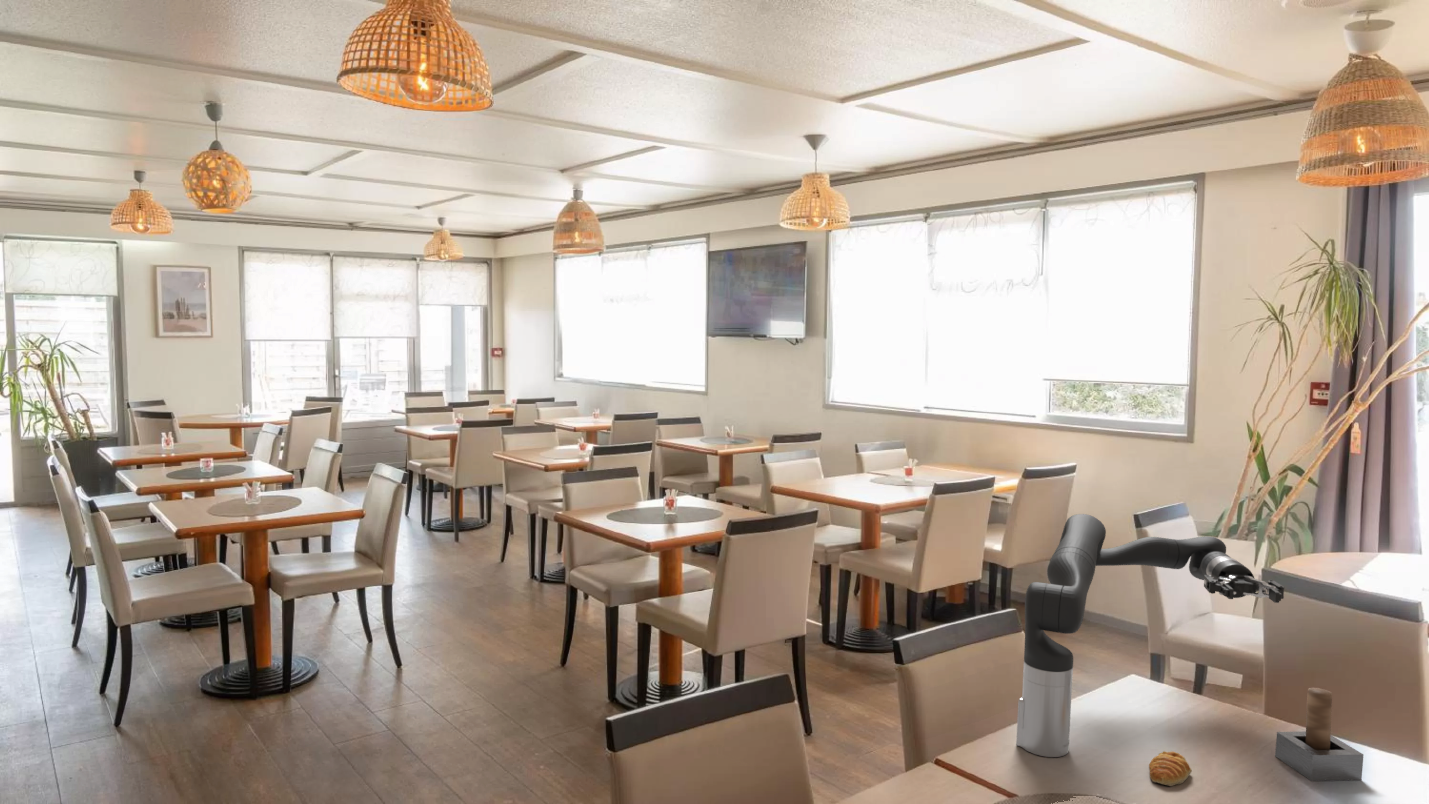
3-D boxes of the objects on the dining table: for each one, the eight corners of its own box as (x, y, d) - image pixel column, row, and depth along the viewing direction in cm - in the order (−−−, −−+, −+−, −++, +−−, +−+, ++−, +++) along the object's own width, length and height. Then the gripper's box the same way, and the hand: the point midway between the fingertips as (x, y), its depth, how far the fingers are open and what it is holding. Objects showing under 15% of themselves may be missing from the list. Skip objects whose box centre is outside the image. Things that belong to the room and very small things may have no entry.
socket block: (1311, 780, 173) (1313, 755, 172) (1275, 756, 183) (1276, 731, 182) (1361, 779, 173) (1363, 754, 173) (1322, 755, 183) (1324, 731, 183)
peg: (1303, 762, 178) (1306, 692, 177) (1306, 755, 181) (1308, 686, 180) (1328, 768, 175) (1331, 696, 174) (1330, 761, 178) (1333, 690, 178)
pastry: (1180, 793, 167) (1181, 773, 167) (1140, 781, 172) (1141, 761, 171) (1192, 774, 175) (1193, 755, 174) (1154, 763, 179) (1155, 745, 179)
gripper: (1195, 557, 206) (1217, 575, 190) (1265, 562, 202) (1294, 581, 187) (1193, 590, 206) (1215, 611, 190) (1263, 595, 203) (1292, 617, 187)
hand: (1254, 596), depth 189 cm, fingers open, 8 cm apart
